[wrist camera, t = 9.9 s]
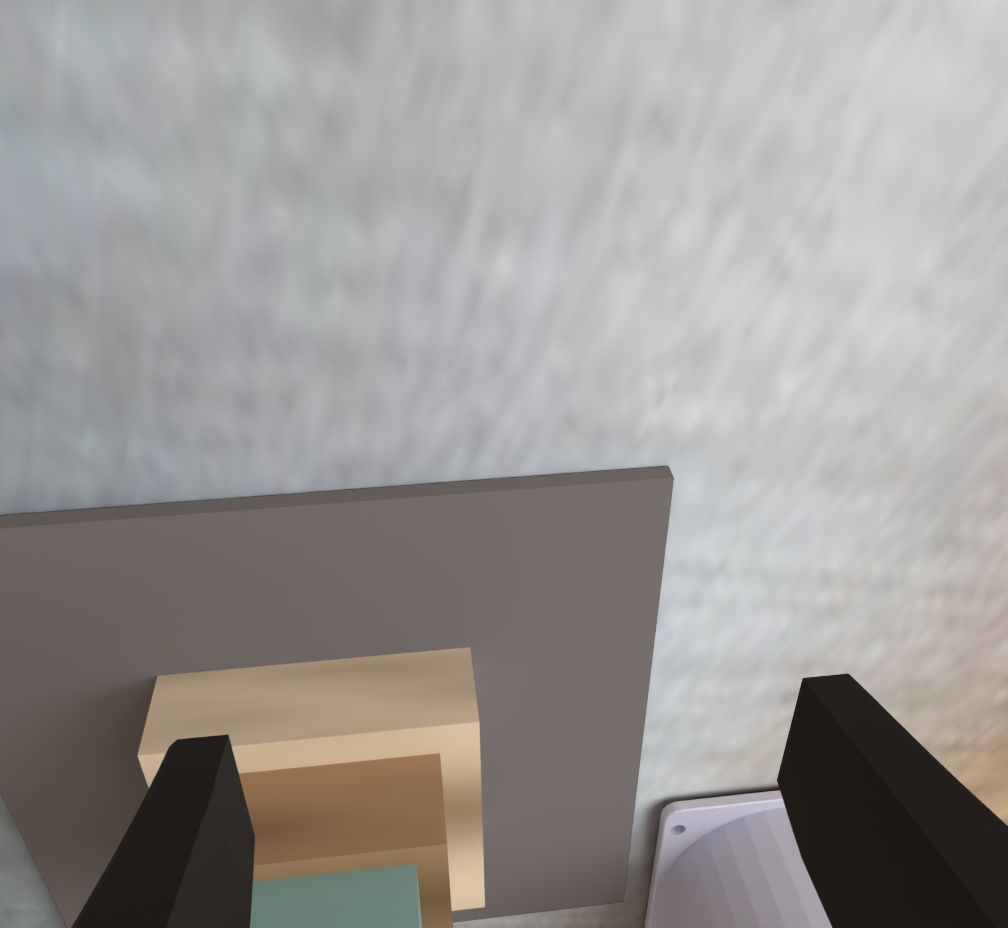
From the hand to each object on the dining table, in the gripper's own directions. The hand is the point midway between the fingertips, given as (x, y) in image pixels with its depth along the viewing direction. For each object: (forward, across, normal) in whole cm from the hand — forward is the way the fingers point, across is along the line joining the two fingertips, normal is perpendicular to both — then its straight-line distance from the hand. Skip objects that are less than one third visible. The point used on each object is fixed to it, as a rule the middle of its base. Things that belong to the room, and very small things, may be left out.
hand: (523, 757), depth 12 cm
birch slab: (+10, +4, +12) cm, 16 cm away
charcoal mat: (+10, +4, +12) cm, 16 cm away
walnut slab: (+7, +4, +12) cm, 15 cm away
